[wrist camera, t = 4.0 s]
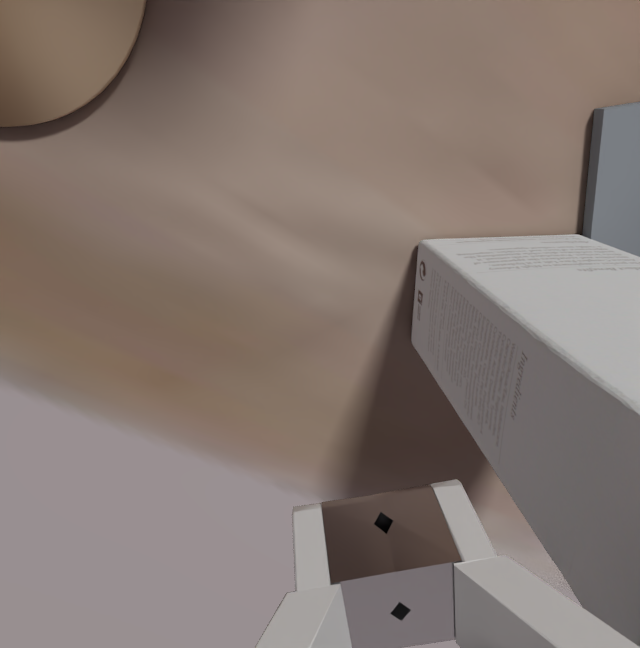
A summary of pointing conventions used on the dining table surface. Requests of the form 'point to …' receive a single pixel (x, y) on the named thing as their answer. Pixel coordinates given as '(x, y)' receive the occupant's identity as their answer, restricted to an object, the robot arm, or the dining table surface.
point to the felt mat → (614, 179)
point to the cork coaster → (61, 54)
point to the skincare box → (548, 392)
